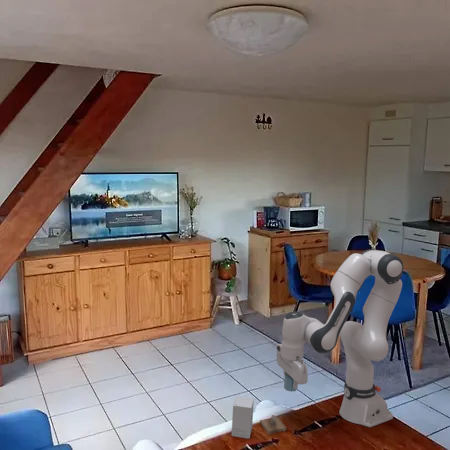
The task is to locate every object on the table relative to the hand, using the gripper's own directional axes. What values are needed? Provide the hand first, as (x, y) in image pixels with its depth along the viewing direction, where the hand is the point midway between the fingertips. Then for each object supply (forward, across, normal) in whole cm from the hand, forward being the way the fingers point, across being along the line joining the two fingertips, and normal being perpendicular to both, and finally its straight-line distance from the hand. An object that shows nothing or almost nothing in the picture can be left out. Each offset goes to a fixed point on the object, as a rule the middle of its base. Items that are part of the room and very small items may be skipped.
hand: (290, 384), depth 183 cm
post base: (+16, -1, +8) cm, 18 cm away
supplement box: (+16, -1, +22) cm, 27 cm away
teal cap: (+2, 0, 0) cm, 2 cm away
